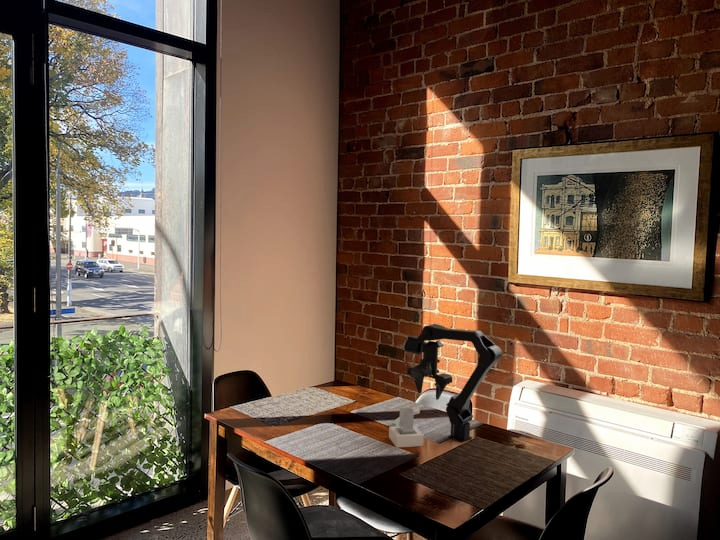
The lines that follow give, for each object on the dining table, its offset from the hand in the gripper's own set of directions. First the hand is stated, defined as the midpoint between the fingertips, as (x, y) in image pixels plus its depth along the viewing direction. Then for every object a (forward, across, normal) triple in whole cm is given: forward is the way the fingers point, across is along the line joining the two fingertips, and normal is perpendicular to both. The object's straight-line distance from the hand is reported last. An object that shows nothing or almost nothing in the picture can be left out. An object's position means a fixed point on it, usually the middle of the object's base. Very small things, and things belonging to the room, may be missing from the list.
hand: (428, 396), depth 226 cm
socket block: (+13, +4, -16) cm, 21 cm away
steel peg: (+13, +4, -16) cm, 21 cm away
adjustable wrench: (+14, -15, +2) cm, 20 cm away
